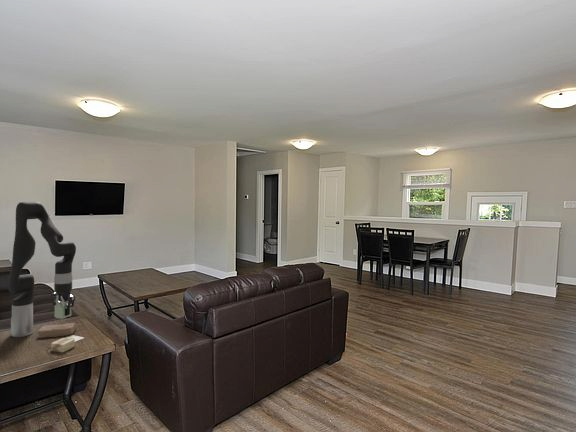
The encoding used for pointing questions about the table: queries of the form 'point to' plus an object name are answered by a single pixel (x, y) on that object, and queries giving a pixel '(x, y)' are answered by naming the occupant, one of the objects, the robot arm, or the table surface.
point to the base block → (62, 345)
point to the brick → (56, 330)
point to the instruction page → (75, 337)
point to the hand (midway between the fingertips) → (63, 314)
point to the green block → (61, 311)
